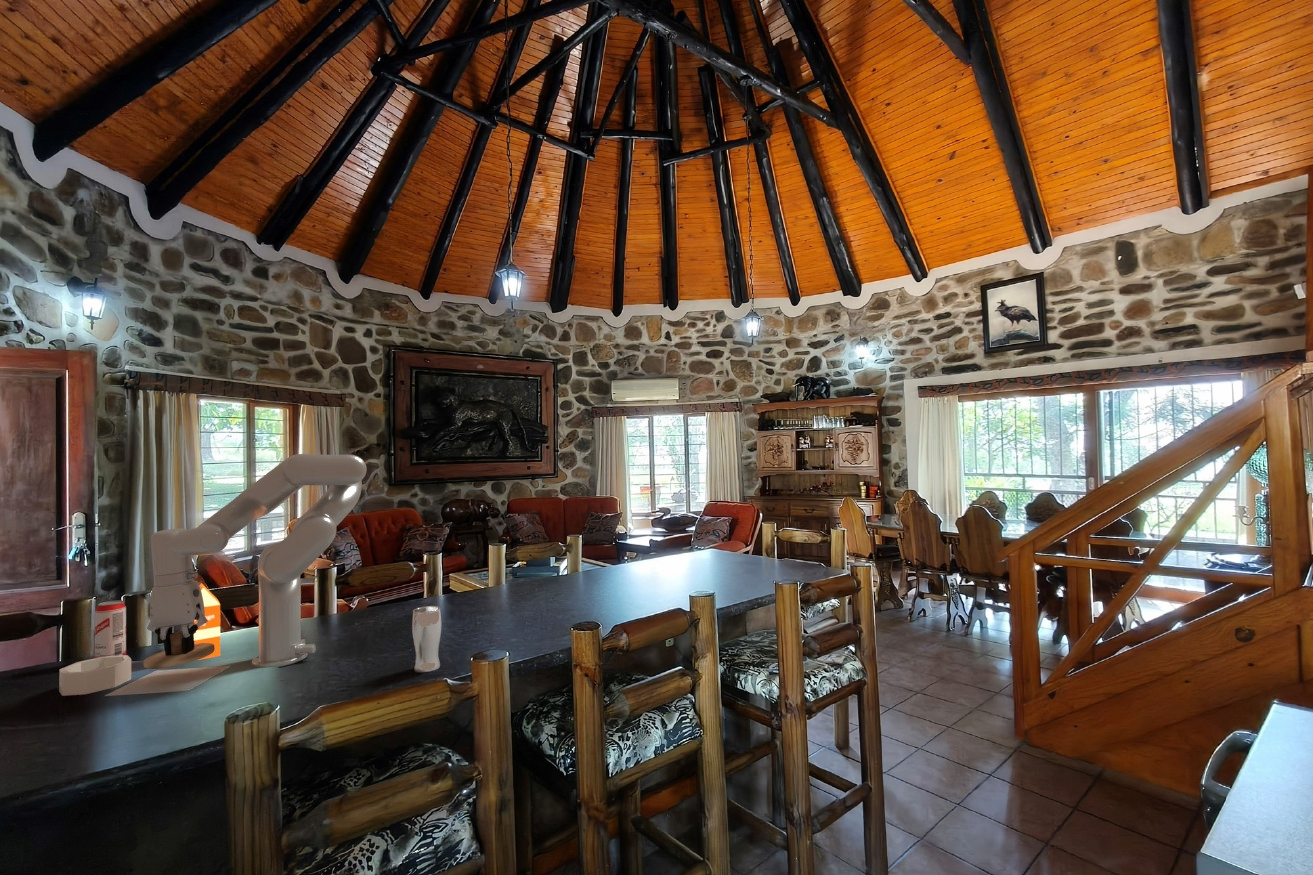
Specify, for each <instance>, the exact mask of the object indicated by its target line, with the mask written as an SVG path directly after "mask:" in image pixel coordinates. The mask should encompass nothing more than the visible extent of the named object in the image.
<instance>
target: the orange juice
mask: <svg viewBox="0 0 1313 875" xmlns="http://www.w3.org/2000/svg"><path fill="white" fill-rule="evenodd" d="M199 586H200V589H201V592H202V596H203V601H204V608H205V617H206V618H207V620H208V622H207V623H206V624H204V625H203V626H201V627H200V628H199V629H198V630H197V631H196V633H195V634H194V644H198V643H212V644H214V647H215V651H214V652H213V653H212V654H210V655H208V656H206V657H204V658H201V659H199V660H198V661H200V660H201V661H202V660H204V659H205V660H206V659H210V658H214V657H219V656H220V657H221V603H220V601H219V599H218V598H217V596H215V595H214V594H213V593H212V592H211V591H210V590H209V589H208V588H207V587H206V586H205V584H203V583H202V582H201V583H199ZM197 622H198V621H197V620H195V621H194V623H195V624H196V623H197Z"/></svg>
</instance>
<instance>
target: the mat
mask: <svg viewBox="0 0 1313 875" xmlns="http://www.w3.org/2000/svg"><path fill="white" fill-rule="evenodd" d="M231 667H232V665H226V666H225V665H223V666H209V667H207V666H205V667H192V668H189V667H188V668H187V667H186V668H175V669H174V668H173V669H155V670H154V671H153V672H150V673H148V674H146V675H144V676H142V677H140V678H138V679H136V680H133V681H132V682H130V683H128V684H126V685H124V686H122V687H120V688H118V689H115V690H113V691H112V692H110V693H106V694H105V695H104V697H110V696H113V697H115V696H127V695H128V696H129V695H142V694H144V695H145V694H160V693H173V692H189V691H191V690H193V689H195V688H197V686H199V685H201V684H203V683H205V682H206V681H209V680H210V679H212V678H213V677H216V676H217V675H219V674H221V673H222V672H223V671H225V670H228V669H229V668H231Z"/></svg>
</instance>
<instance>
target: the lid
mask: <svg viewBox="0 0 1313 875" xmlns="http://www.w3.org/2000/svg"><path fill="white" fill-rule="evenodd" d="M183 637H184V635H183V630H180V631H174V633H172V634H170V640H171V653H172V654H171V655H169V656H166V655H165V650H162V651H159V652H157V653H153V654H152V655H150V656H147V657H146V658H145V659H144V660H143V662H142V663H143V668H145V669H147V670H162V669H167V668H168V669H169V668H172V667H177V666H181V665H185V664H190V663H192V662H195V661H200V660H199V659H201V658H204V657H206V656H208V655H210V654H212V653H213V652H214V651H215V647H214V644H212V643H198V644H194V650H192V651H190V652H188V653H187V654H183V653H182V642H181V639H182V638H183ZM201 660H202V659H201Z"/></svg>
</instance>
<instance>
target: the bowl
mask: <svg viewBox="0 0 1313 875" xmlns="http://www.w3.org/2000/svg"><path fill="white" fill-rule="evenodd" d="M58 673H59V676H58V677H59V678H58V679H59V680H58V682H59V684H58V685H59V686H58V687H59V688H58V692H59V693H60V695H61V696H62V697H63V696H64V697H65V696H77V695H79V696H82V695H88V694H92V693H96V692H100V691H105V690H108V689H113V688H117V687H118V686H121V685H123V684H124V683H126V682H128V681H130V680H132V658H131V657H130V656H129V655H128V654H126V655H120V656H105V657H100V658H95V657H94V658H91V659H85V660H81V661H76V662H75V663H72V664H69V665H67V666H65V667H62V668H60V669H59V672H58ZM59 693H58V694H59Z"/></svg>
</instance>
